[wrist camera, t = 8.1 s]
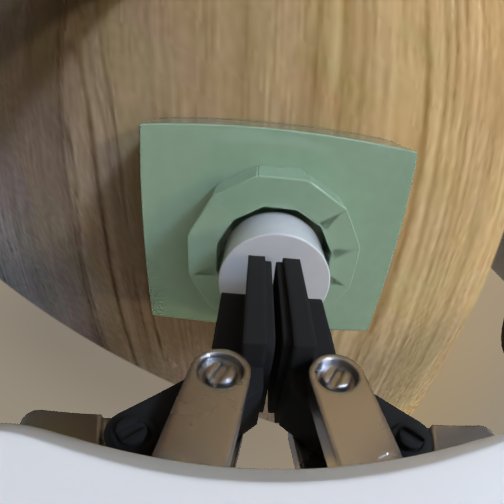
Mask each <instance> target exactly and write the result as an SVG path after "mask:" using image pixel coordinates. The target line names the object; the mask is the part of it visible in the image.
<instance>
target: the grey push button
mask: <svg viewBox="0 0 504 504" xmlns="http://www.w3.org/2000/svg"><path fill="white" fill-rule="evenodd" d="M249 255H253V256H265V261H271V263H272V280H274V273H275V265H276V262H282V259H283V258H292V259H300V262H301V266H302V271H303V275H304V280H305V285H306V290H307V294H308V298H309V299H321V300H322V302H323V301H324V300H325V298H326V296H327V293H328V290H329V286H330V271H329V267H328V264H327V261H326V258H325V255H324V252H323V249H322V247H321V244H320V241H319V239H318V237H317V235H316V233H315V232H314V230H313V229H312V228H311V227H310V226H309V225H308V224H307V223H306V222H304V221H303V220H301V219H300V218H298V217H296V216H293V215H291V214H287V213H282V212H265V213H260V214H257V215H254V216H251V217H249V218H247V219H246V220H244V221H243V222H241V223H240V224H239V225H238V226H237V227H236V228H235V229H234V230H233V231H232V233H231V234H230V236H229V237H228V240H227V242H226V245H225V249H224V253H223V258H222V262H221V266H220V271H219V277H218V285H219V290H220V294H221V293H222V292H224V293H236V294H245V293H246V280H247V268H248V256H249Z"/></svg>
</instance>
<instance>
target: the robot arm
mask: <svg viewBox="0 0 504 504" xmlns="http://www.w3.org/2000/svg"><path fill="white" fill-rule="evenodd" d="M267 389H268V413H274V415H275V423H279V425H280V426H281V427H283V428H284V429H285V430H286V431H288V440H289V445H290V449H291V453H292V458H293V462H294V466H295V469H251V468H236V463H237V460H238V456H239V452H240V447H241V443H242V439H243V434H244V433H245V432H247V431H248V430H249V429H251V428H252V427H254V426H255V425H256V424H257V420H258V415H259V412H263V410H264V405H265V400H266V394H267ZM0 504H504V433H503V434H498V435H494V434H493V433H492V431H491V430H490V429H488V428H486V427H484V426H443V425H432V426H431V427H430V428H426V427H425V426H424V425H423V424H422V423H420V422H419V421H417V420H415V419H414V418H412V417H411V416H409V415H407V414H406V413H404V412H402V411H401V410H399V409H397V408H396V407H394V406H393V405H391V404H389V403H388V402H386V401H384V400H383V399H381V398H380V397H378V396H377V395H375V394H374V393H373V391H372V389H371V386H370V384H369V382H368V380H367V378H366V376H365V374H364V372H363V370H362V369H361V367H360V366H359V365H358V364H357V363H356V362H355V361H353V360H352V359H350V358H348V357H346V356H342V355H337V354H336V353H335V349H334V345H333V341H332V337H331V333H330V329H329V325H328V321H327V317H326V313H325V309H324V305H323V302H322V300H321V299H309V298H308V294H307V290H306V285H305V280H304V275H303V271H302V266H301V262H300V259H292V258H283V259H282V262H276V265H275V273H274V280H272V263H271V261H265V256H253V255H249V256H248V268H247V280H246V293H245V294H236V293H224V292H222V293H221V298H220V304H219V310H218V316H217V321H216V327H215V333H214V339H213V345H212V350H208V351H205V352H203V353H201V354H200V355H198V356H197V357H196V358H195V359H194V360H193V362H192V363H191V365H190V368H189V370H188V372H187V375H186V377H185V379H184V380H183V381H181V382H179V383H177V384H175V385H173V386H172V387H170V388H168V389H166V390H164V391H162V392H161V393H158V394H156V395H155V396H153V397H151V398H149V399H147V400H145V401H143V402H141V403H139V404H137V405H135V406H133V407H131V408H129V409H127V410H125V411H123V412H120V413H118V414H117V415H115V416H114V417H112V418H103V417H102V415H97V414H80V413H67V412H55V411H46V410H34V411H32V412H30V413H28V414H27V415H26V416H25V417H24V418H23V419H22V421H21V423H20V424H11V423H0Z"/></svg>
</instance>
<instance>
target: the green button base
mask: <svg viewBox="0 0 504 504" xmlns="http://www.w3.org/2000/svg"><path fill="white" fill-rule="evenodd" d="M417 155H418V153H417V152H416V151H413V150H411V149H409V148H407V147H404V146H402V145H400V144H397V143H395V142H393V141H389V140H385V139H380V138H375V137H370V136H364V135H359V134H353V133H347V132H341V131H335V130H329V129H322V128H315V127H307V126H299V125H290V124H281V123H271V122H260V121H247V120H231V119H208V118H161V119H157V120H153V121H150V122H146V123H142V124H140V180H141V202H142V219H143V233H144V245H145V256H146V266H147V275H148V284H149V292H150V300H151V307H152V314H153V315H157V316H165V317H173V318H181V319H190V320H199V321H209V322H216V321H217V316H218V310H219V304H220V298H221V294H220V290H219V285H218V277H219V271H220V266H221V262H222V258H223V253H224V249H225V245H226V242H227V240H228V237H229V236H230V234H231V233H232V231H233V230H234V229H235V228H236V227H237V226H238V225H239V224H240V223H241V222H243V221H244V220H246V219H247V218H249V217H251V216H254V215H257V214H260V213H265V212H282V213H287V214H291V215H293V216H296V217H298V218H300V219H301V220H303V221H304V222H306V223H307V224H308V225H309V226H310V227H311V228H312V229H313V230H314V232H315V233H316V235H317V237H318V239H319V241H320V244H321V247H322V249H323V252H324V255H325V258H326V261H327V264H328V267H329V271H330V286H329V290H328V293H327V296H326V298H325V300H324V301H323V305H324V309H325V313H326V317H327V321H328V325H329V329H330V330H362V331H366V330H368V327H369V325H370V322H371V319H372V317H373V314H374V311H375V308H376V306H377V303H378V300H379V297H380V294H381V291H382V288H383V285H384V282H385V279H386V276H387V273H388V270H389V267H390V264H391V260H392V257H393V254H394V250H395V247H396V244H397V240H398V237H399V233H400V229H401V226H402V222H403V218H404V214H405V210H406V206H407V202H408V198H409V193H410V189H411V185H412V180H413V175H414V171H415V166H416V161H417Z"/></svg>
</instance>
